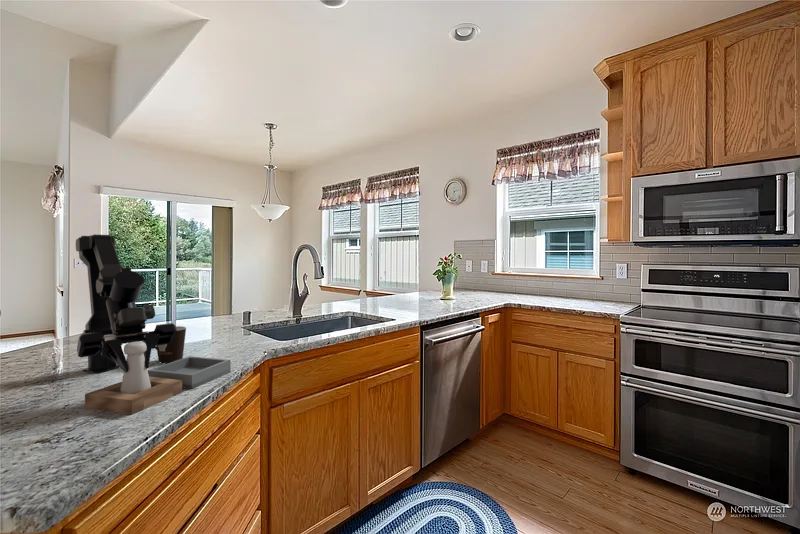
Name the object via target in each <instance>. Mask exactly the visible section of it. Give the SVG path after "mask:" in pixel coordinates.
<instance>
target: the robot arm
mask: <svg viewBox="0 0 800 534" xmlns="http://www.w3.org/2000/svg"><path fill="white" fill-rule="evenodd" d="M75 250H76V252H78V257H79V260H80V261H81V262H82V263H83V264H84V265H85V266H86V267H87V268H86V269H87V279H88V290H89V299H90V302H89V303H90V313H91V314H90V315H91V316H90V317H89V319H88V321H87V322H86V324H85V328H84V329H83V332H82V333H81V334H80V335H79V337H78V341H77V345H76V352H77V357H78V358H87V364H88V365H87V366H88V367H86V368H83V369H82V372H89V373H95V374H101V373H104V372H107V371H108V372H109V371H111V370H113V369H114V370H115V369H118V368H119V369H121V370H122V371H123V372H124V371H125V372H128V364H127V361H126V360H127V357H126V356H125V353H124V349H123V347H122V346H123V345H126V344H127V343H131V342H144V343H146V346H147V349H146V351H145V352H143V353H144V357H145V362H146V369H147V370H148V369H149V367H150V360H151V353H152V350H154V349H155V347H156V345H165V344H170V343H172V341H173V339H174V337H175V334H176V332H177V329H176V326H177V325H175V324H174V323H172V322H170V323H162V324H161V323H160V324H156V325H155V327H154V330H152V331H151V330H150V331H148V330H147V331H143V330H145V328H146V326H147V325H146V322H147V321H148V320H152V319H154V318H155V316H156V311H155V307H154V304H144V305H143V306H140V307H137V305H136V301H137V300H138V299H139V297H140V294H141V291H142V287H143V284H144V281H145V280H144V277H143V276H142V275H141V274H140V273H138V272H136V271H132V268H131V267H123V266H122V264H121V262H120V259H119V256H118V254H117V251H116V239H115V237H114V236H113V235H110V234H97V233H96V234H92V235H81V236H80V237H77V239H76V240H75Z"/></svg>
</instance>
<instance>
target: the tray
mask: <svg viewBox="0 0 800 534" xmlns="http://www.w3.org/2000/svg"><path fill="white" fill-rule="evenodd" d="M231 367H232V366H231V359H227V358H226V359H222V358H213V357H205V356H201V357H200V356H193V355H190V356H186V357H183V359H180V360H177V361H174V362H171V363H167V364H162V365H159V366H155V367H153V368H151V369H147V370H148V375H149V377H158V378H167V379H175V380H182V389H190V390H193V389H196V388H197V387H200V386H202V385H204V384H207V383H209V382H211V381H214V380H216V379H219V378H220V377H223V376H225V375H227V374H229V373H231Z"/></svg>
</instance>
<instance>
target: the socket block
mask: <svg viewBox="0 0 800 534" xmlns="http://www.w3.org/2000/svg"><path fill="white" fill-rule="evenodd" d="M149 379H150V384H151V388H149V389H146V390H144V391H141V392H139V393H136V394H127V393H121V391H120V389H121V384H122V381H119V382H117V383H114V384H111V385H110V384H109V385H107V386H104V387H102V388H98V389H95V390H93V391H90V392H87V393H85V394H84V408H86V409H92V410H100V411H105V412H106V411H107V412H113V413H119V414H127V415H134V414H136V413H138V412H142V411H143V410H144V411H145V409H147V408H150V407H152V406H155V405H156V404H159V403H162V402H163V401H166V400H168V398H169V399H171V398H173V397H175V396H178V395H180V394H182V393H183V388H182V380H175V379H167V378H158V377H149ZM181 392H182V393H181ZM179 393H180V394H179ZM177 394H178V395H177ZM172 396H173V397H172ZM170 397H171V398H170Z"/></svg>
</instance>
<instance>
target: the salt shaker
mask: <svg viewBox="0 0 800 534" xmlns="http://www.w3.org/2000/svg"><path fill="white" fill-rule="evenodd" d="M146 349H147V346H146V343H144V342H142V341H139V342H131V343H125V344H124V346H123V353H124V355H126V356H127V357H126V361H127V364H128V372H125V371H123V376H122V381H121V382H122V384H121V389H120V391H121V393H127V394H136V393H139V392H141V391H144V390H146V389H149V388H151V384H150V379H149V375H148V370H149V369H148V368H147V369H146V362H145V357H144V353H143V352H145V351H146Z"/></svg>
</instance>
